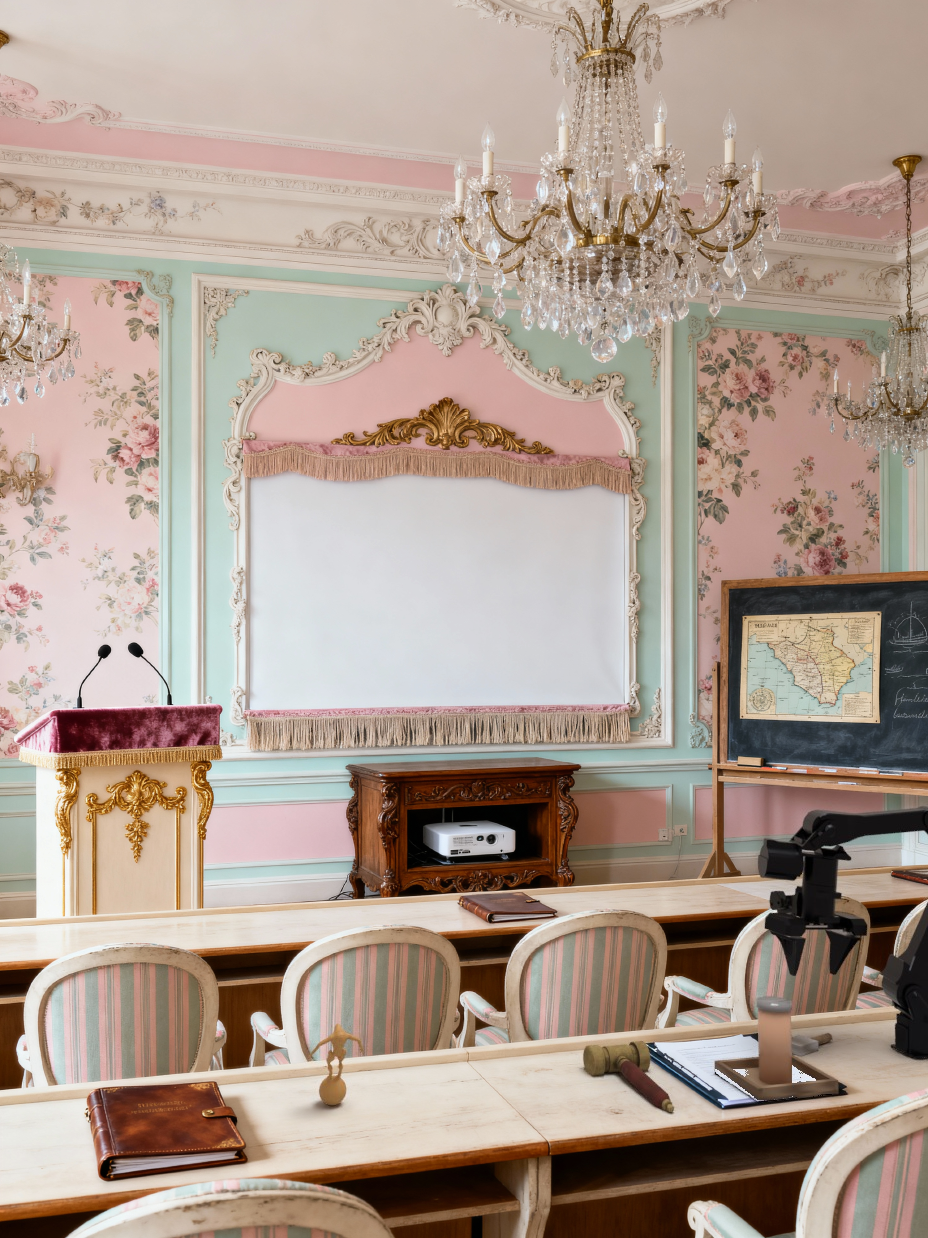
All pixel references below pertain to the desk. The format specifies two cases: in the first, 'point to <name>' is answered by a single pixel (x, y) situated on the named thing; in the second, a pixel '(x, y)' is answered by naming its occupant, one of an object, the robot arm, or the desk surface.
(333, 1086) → the figurine
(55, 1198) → the desk surface
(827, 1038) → the mallet
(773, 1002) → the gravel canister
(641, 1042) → the gavel
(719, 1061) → the walnut tray
